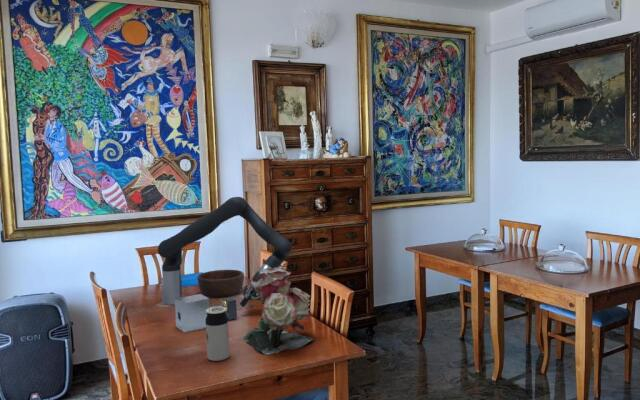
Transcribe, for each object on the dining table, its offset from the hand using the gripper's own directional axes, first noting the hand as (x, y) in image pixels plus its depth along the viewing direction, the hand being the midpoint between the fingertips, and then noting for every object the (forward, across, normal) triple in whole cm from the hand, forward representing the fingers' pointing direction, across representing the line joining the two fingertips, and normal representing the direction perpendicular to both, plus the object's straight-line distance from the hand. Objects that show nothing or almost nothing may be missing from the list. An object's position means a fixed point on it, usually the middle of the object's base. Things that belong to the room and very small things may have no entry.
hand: (241, 305), depth 240 cm
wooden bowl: (-3, -46, +11) cm, 47 cm away
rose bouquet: (+5, +40, +2) cm, 40 cm away
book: (+2, -81, +6) cm, 81 cm away
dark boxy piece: (+12, 0, -6) cm, 14 cm away
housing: (+20, 0, -13) cm, 24 cm away
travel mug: (+24, +40, -17) cm, 50 cm away
